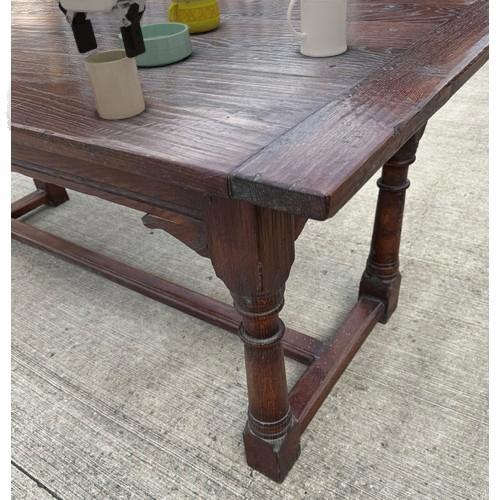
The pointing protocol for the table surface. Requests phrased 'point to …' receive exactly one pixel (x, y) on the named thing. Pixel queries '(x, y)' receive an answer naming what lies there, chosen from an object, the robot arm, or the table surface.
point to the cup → (115, 84)
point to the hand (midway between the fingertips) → (111, 53)
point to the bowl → (163, 44)
